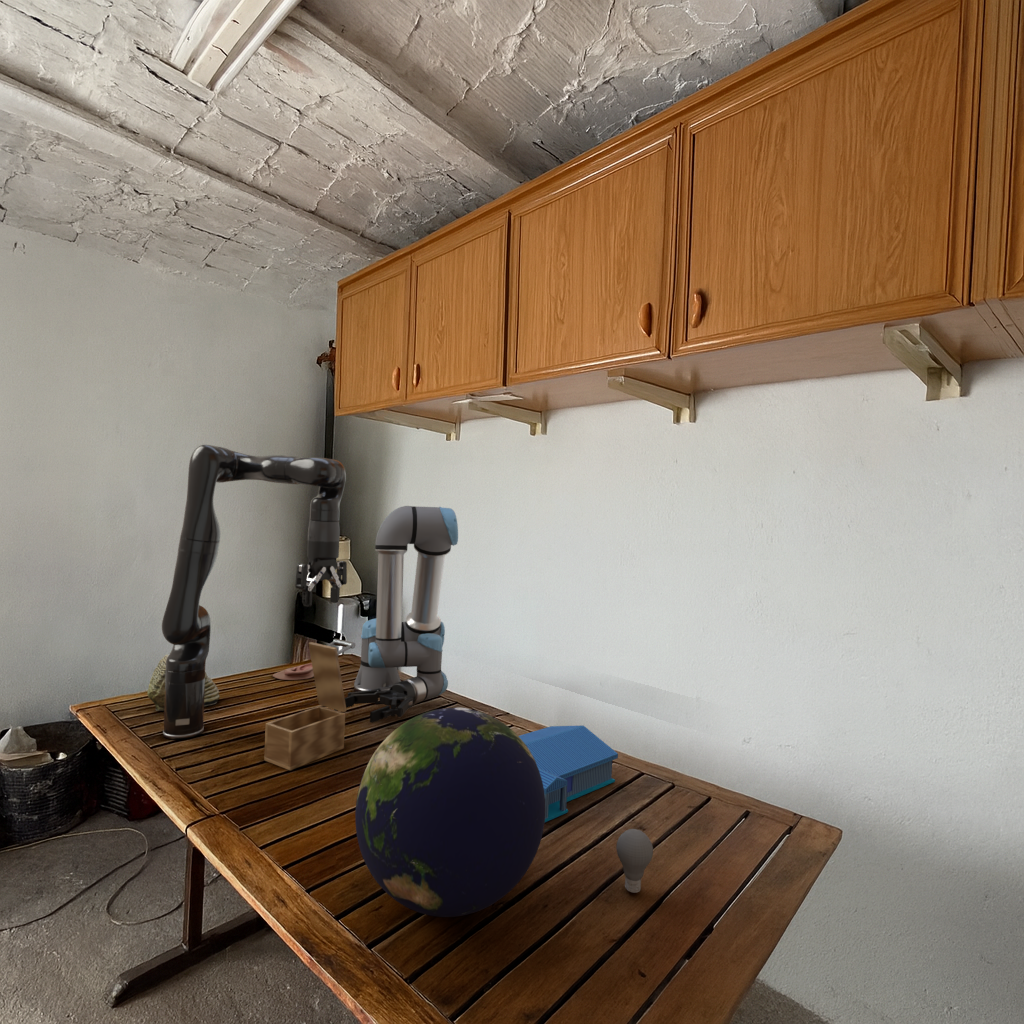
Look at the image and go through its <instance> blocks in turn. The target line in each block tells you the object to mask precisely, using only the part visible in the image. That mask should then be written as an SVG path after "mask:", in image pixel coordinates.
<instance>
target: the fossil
mask: <svg viewBox="0 0 1024 1024" xmlns="http://www.w3.org/2000/svg"><path fill="white" fill-rule="evenodd" d="M168 656H169V654H165V655H164V656H163V657H162V658H161V659H160V660H159V662H158V663H157V666H156V667H155V669H154V670H153V672H152V675H151V677H150V680H149V684H148V688H147V697H148V699H149V700H150V701H152V703H153V704H154V706H155V711H158V712H159V711H162V712H163V711H164V705H165V674H166V659H167V657H168ZM220 698H221V696H220V690H219V688H218V686H217V685H216V683H215V682H214V681H213V679H212V678H211V677H209V675H208V674H207V672H206V671H205V693H204V707H207V706H213V705H215V704H217V703H218V701H219V699H220Z"/></svg>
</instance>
